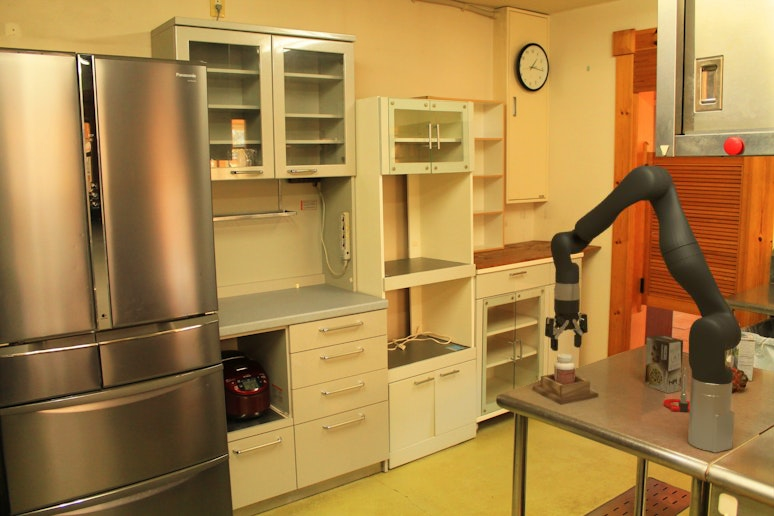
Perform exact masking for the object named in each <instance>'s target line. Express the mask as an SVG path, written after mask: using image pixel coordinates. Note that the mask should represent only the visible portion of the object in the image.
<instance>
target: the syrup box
mask: <svg viewBox="0 0 774 516" xmlns="http://www.w3.org/2000/svg"><path fill="white" fill-rule="evenodd" d="M741 333H742V336H741V341H740V343H739V344H738V345H737V346H736V347H735V348H733V349H731V352H730V353H731V354H730V364H729V365H730V366H729V367H731V368H732V367H733V366H735V367H736V368H738V369H739V370H742V371H744V374H746V375H747V377H748V379H749V380H748V382H749V381H750V382H752V381H753V375H754V374H753V373H754V361H755V347H756V338H755V337H754V336H753V335H752V334H750V333H744V332H741Z"/></svg>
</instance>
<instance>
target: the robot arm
mask: <svg viewBox="0 0 774 516" xmlns="http://www.w3.org/2000/svg"><path fill="white" fill-rule="evenodd" d="M641 201H642V202H643V201H644V202H645V201H647V202H649V203H650V206H651V207H652V210H653V211H654V214H655V216H656V219H657V222H658V246H659V247H658V249H659V252H660V256H661V257H662V260H663V261H664V262H663V263H664V265H665V267H666V269H667V271H668V273H669V274H670V276H671V277H672V278H673V280H674V281H675V282H676V283H677V284H678V285H679V286H680V287H681V288H682V289H683V290H684V291H685V292H686V293H687V294H688V295H689V296H690V297H691V299H692V300H693V302H694V303H695V305H696V306H697V309H698V312H699V313H700V316H701V317H700V318H697V319H696V320H694V321H693V322H692V324H691V326H690V328H689V332H688V364H689V368H690V369H691V380H690V381H691V382H690V395H689V396H690V397H689V402H690V412H688V415H689V416H688V435H687V442H688V443H689V444H690V445H691V446H692V447H694V448H697V449H700V450H704V451H708V452H713V453H720V452H723V451H727V450H728V451H729V450H731V449H733V440H734V439H733V438H734V425H735V424H734V422H735V412H734V411H732V398H733V397H732V393H733V391H732V382H733V371H732V369H731V368H729V367H730V366H728V365H726V351H730V350H732V349H733V348H735V347H736V346H737V345H738V344H739V343H740V341H741V336H742V333H743V332H742V328H741V326H740V323H739V321H738V320H737V317H736V316H735V314H734V312H733V311H732V309H731V307H730V306H729V304H728V302H727V300H726V299H725V297H724V296H723V294H722V291H721V290H720V289H719V286H718V284H717V281H716V279H715V277H714V276H713V275H714V274H713V273H712V271H711V269H710V267H709V265H708V262H707V259H706V256H705V254H704V253H703V251H702V250H703V249H702V248H701V246H700V244H699V242H698V240H697V238H696V236H695V235H694V232H693V229H692V227H691V225H690V223H689V219H688V218H687V216H686V213H685V212H684V209H683V206H682V204H681V201H680V197H679V195H678V191H677V189H676V185H675V182H674V179H673V177H672V175H671V173H670V172H669V171H668V170H667V169H666V168H664V167H662V166H659V165H639V166H637V167H635V168H633V169H631V170H630V171H629V172H628V173H627V174H626V175H625V177H623V179H622V180H621V181H619V183H618V184H617V186H616V187H614V189H613V190H611V192H609V194H607V196H606V197H605V198H603V200H601V202H599V203H598V204H597V205H596V206H595V207H594V208H592V209H591V210H589V211H588V212H586V213H585V214H584V215H583V216H582V217H580V218H579V219H578V220H577V221H576V222H575V224H574V229H572V230H570V231H560V232H556V233H555V234H554V235H553V236H552V238H551V241H550V252H551V256H552V260H553V264H554V268H555V273H554V275H555V278H554V281H555V282H554V290H553V291H554V293H553V295H554V296H553V297H554V298H553V302H554V303H553V310H554V317H548V316H547V317H545V324H544V325H545V326H544V336H545V337H546V338H549V339H550V349H551V350H552V351H554V352H557V351H558V350H559V339H558V338H559V337H560V336H561V334H563V332H564V331H568V330H572V331H573V333H574V335H573V346H574V347H575V348H578V349H580V348H581V346H582V343H583V342H582V339H583V338H582V337H583V336H584V334H587V333H588V329H589V328H588V315H587V313H583V312H580V311H581V309H580V307H581V305H580V304H581V303H580V302H581V301H580V300H581V288H580V266H579V264H577V263H576V262H573V261H572V256H571V255H576V254H579V253H581V252H583V250H586V248H587V247H588V246H589V245H590V244H591V243H592V241H593V240H594V239H595V238H597V237H599V236H600V235H601V234H603V233H604V232H605V231H607V230H608V229H609V228H611V226H612V225H613V224H614V223H615V222H616V220H617V219H618V216H619V215H620V214H621V213H622V212H623V211H625V210H626V209H627V208H629V207H631V206H632V205H635V204H636V203H638V202H641ZM725 365H726V366H725Z"/></svg>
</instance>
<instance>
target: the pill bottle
mask: <svg viewBox="0 0 774 516" xmlns="http://www.w3.org/2000/svg"><path fill="white" fill-rule="evenodd" d="M573 359H574V356H573V354H571V353H558V354H557V355H556V360H557V361H555V362H554V367H553V369H554V371H553V374H554V381H556V382H558V383H560V384H562V385H564V384H570V383H575V375H576V374H575V373H576V364H575V363H574V362H573Z"/></svg>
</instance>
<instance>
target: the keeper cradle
mask: <svg viewBox="0 0 774 516" xmlns="http://www.w3.org/2000/svg"><path fill="white" fill-rule="evenodd" d="M532 391H534V392H535V393H537V394H540V395H541V396H543V397H545V398H548V399H549V400H551V401H553V402H554V403H557V404H559V405H561V406H562V405H566V404H571V403H577V402H582V401H586V400H591V399H596V398H597V397H598V398H599V393H598V392H596V391H594V390H591V380H588V379H586V378H584V377H582V376H579V375H577V374H575V383H570V384H564V385H562V384H560V383H558V382H556V381H554V373H552V374H547V375H541V376H540V384H538V385H534V386H532Z"/></svg>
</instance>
